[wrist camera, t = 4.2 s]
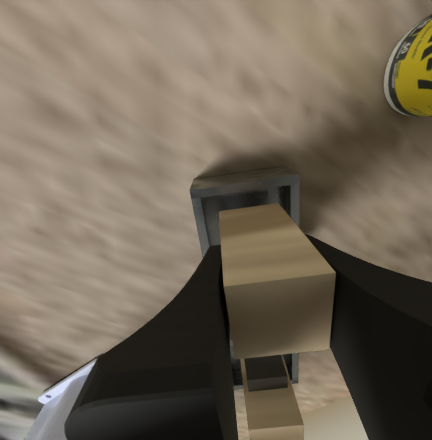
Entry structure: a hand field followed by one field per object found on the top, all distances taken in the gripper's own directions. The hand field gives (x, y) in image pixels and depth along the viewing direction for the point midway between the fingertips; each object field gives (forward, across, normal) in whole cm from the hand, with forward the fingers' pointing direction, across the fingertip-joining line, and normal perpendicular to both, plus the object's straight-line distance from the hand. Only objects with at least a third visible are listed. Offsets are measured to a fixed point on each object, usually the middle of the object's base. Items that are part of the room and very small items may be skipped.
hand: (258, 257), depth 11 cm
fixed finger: (+4, 0, +12) cm, 13 cm away
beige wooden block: (+2, 0, 0) cm, 2 cm away
